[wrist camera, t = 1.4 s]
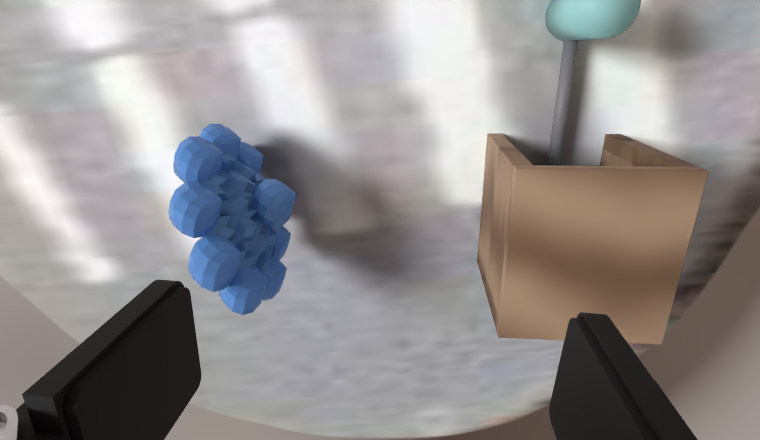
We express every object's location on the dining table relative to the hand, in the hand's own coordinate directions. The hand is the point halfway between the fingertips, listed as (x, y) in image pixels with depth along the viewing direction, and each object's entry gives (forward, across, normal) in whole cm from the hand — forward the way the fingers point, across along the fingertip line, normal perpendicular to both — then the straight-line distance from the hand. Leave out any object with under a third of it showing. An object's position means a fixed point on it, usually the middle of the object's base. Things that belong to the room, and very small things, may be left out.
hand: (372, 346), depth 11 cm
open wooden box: (+23, -10, +3) cm, 25 cm away
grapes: (+23, +10, +3) cm, 25 cm away
